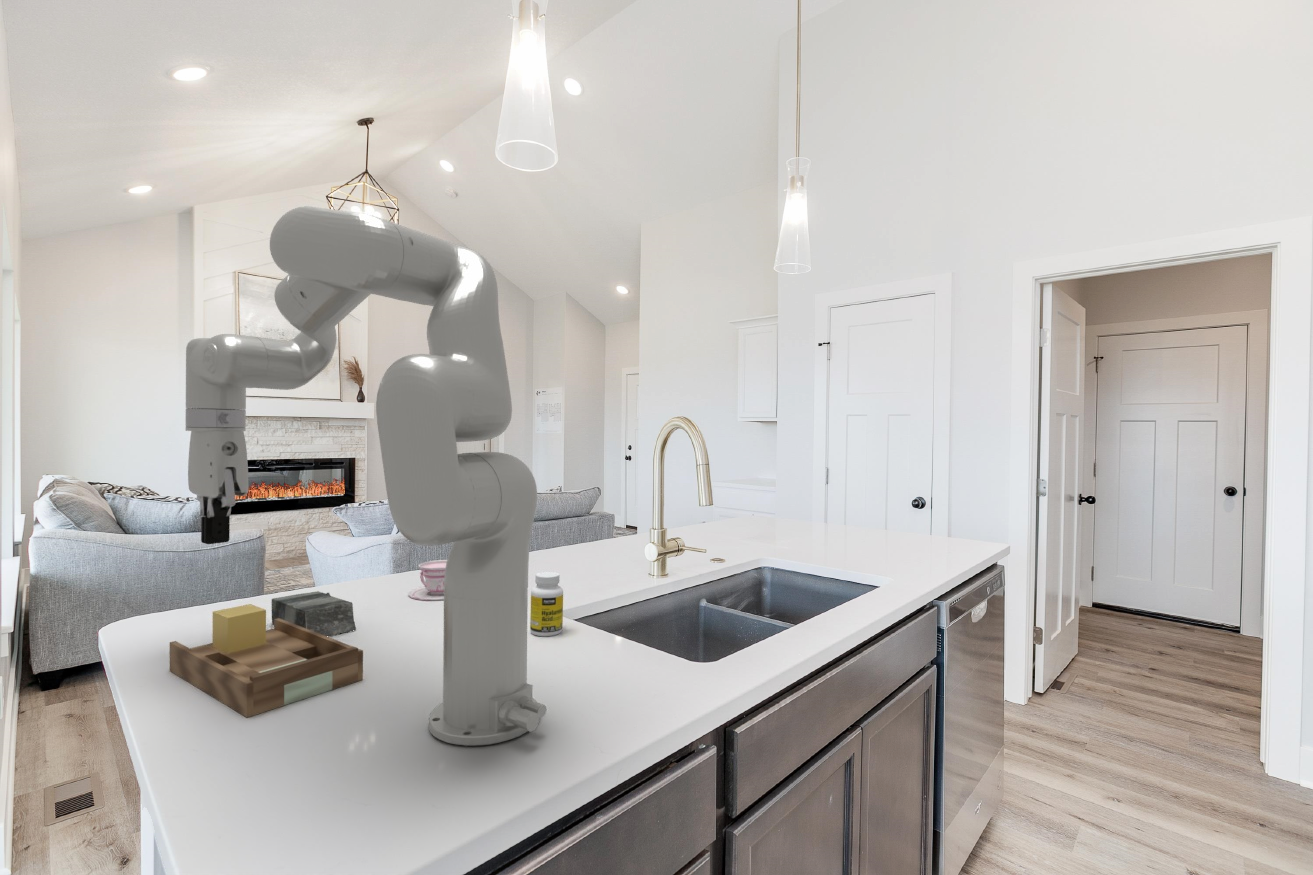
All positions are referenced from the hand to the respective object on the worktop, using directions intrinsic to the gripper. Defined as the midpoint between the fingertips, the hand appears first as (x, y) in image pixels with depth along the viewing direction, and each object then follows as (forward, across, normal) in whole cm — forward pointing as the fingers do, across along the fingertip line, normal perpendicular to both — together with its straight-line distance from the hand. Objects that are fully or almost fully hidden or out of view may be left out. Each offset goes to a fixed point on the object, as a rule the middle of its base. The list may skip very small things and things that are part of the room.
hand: (215, 542), depth 98 cm
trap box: (+16, -16, 0) cm, 23 cm away
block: (+14, -8, 0) cm, 16 cm away
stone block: (+17, 0, -15) cm, 23 cm away
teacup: (+17, +2, -42) cm, 45 cm away
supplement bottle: (+16, -33, -37) cm, 52 cm away
